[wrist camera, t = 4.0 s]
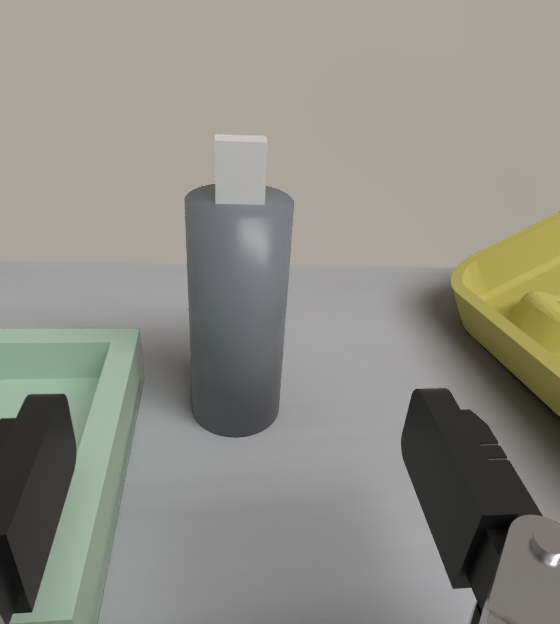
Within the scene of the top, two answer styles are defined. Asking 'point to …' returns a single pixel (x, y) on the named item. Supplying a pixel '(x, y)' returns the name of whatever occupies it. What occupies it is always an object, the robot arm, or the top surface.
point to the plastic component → (517, 305)
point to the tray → (79, 451)
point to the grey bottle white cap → (237, 289)
